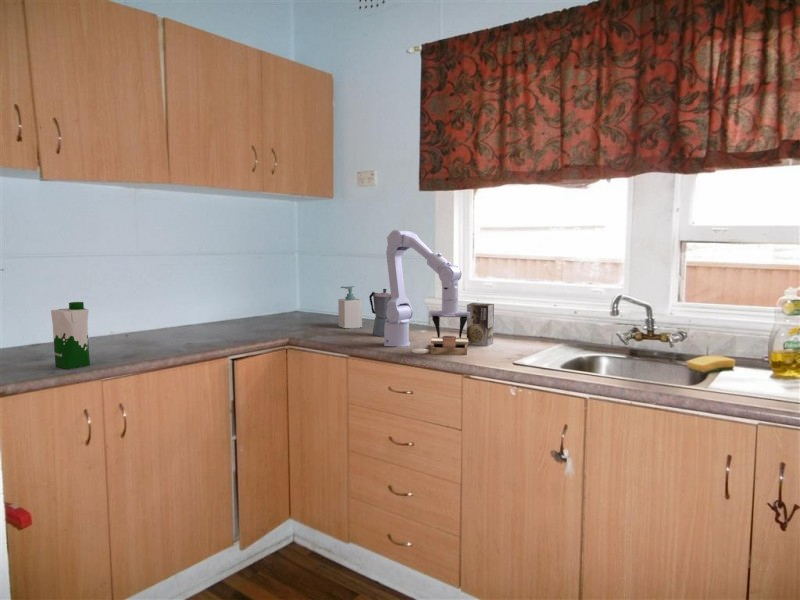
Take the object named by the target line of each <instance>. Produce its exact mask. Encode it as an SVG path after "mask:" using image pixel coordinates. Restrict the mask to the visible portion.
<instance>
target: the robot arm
mask: <svg viewBox="0 0 800 600" xmlns="http://www.w3.org/2000/svg"><path fill="white" fill-rule="evenodd" d="M386 239H387V240H386V241H387V247H386V253H385V255H386V263H387V270H388V271H387V273H388V282H389V288H390V289H389V290H390V294H391V299H390V300H389V302H388V303H387V311H386V316H387V318H388V320H389V322H385V328H384V337H383V338H384V339H383V343H384V344H383V346H384V347H410V344H412V343H411V341H410V339H409V337H410V335H409V334H410V333H409V332H410V322H411V319H412V317H413V314H414V310H413V307H412V305H411V301H410V299H409V298H407V296H406V288H405V280H404V273H403V265H402V264H403V262H402V261H403V260H402V256H403V254H404V253H405V252H406V251H407V250H408V249H410V248H411V249H413V250H414V251H416V252H417V253H418V254H419V255H420V256H422V257H423V258H424V259H426V263H427V265H428V266H429V267H430V268H431V269H432V270H433V272H435V273H436V274H437V275H438V278H439V280H440V281H441V310H434V311H433V310H432V311H431V310H430V311H428V313H429V318H431V320H432V321H433V325H434V327H435V330H436V334H437V337H441V330H440V328H441V327H440V322H441V321H440V319H441V318H459V332H458V338H462V333H463V330H464V327H465V325H466V324H467V318H470V312H467V311H459V281H460V280H461V278H462V271H461V268H460V267H459V266H458V265H453V264H452V262H450V261H448V260H447V259H446V258H445V257H444V256H443V253H441V252H433V251H432V250H431V249H430V248H429V247H428V245H426V244H425V243H424V242H423V241H422V239H420V237H419V235H417V234H416V233H415V232H414V231H412V230H398V229H394V230H392V231H391V232H390V233H389V234H388V236H386Z"/></svg>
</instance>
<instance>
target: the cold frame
mask: <svg viewBox="0 0 800 600" xmlns="http://www.w3.org/2000/svg"><path fill="white" fill-rule="evenodd" d="M430 344H431V345H430V348H429V353H430V354H431V355H457V356H459V355H460V356H461V355H462V356H467V355H468V344H456V345H455V348H443V344H436V343H430Z"/></svg>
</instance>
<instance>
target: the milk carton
mask: <svg viewBox="0 0 800 600" xmlns="http://www.w3.org/2000/svg"><path fill="white" fill-rule="evenodd" d="M84 304H85V303H84V301H72V302H71V301H70V302H68V308H58V309H51V310H50V315H51V323H52V335H53V347H54V348H53V350H54V351H53V352H54V361H55V362H54V363H55V367H57V368H61V369H63V368H64V370H71V368H72V369H76V367H77V368H81V367H80V366H83V367H86V366H85V365H88V366H90V365H91V359H90V346H89V331H88V329H89V327H88V319H89V311H90V310H89V309H88V308H85V306H84Z"/></svg>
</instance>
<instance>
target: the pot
mask: <svg viewBox="0 0 800 600" xmlns="http://www.w3.org/2000/svg"><path fill="white" fill-rule="evenodd" d="M441 337H442V339H443V348H455V345H456V338H457V336H455V335H444V336H441Z"/></svg>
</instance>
